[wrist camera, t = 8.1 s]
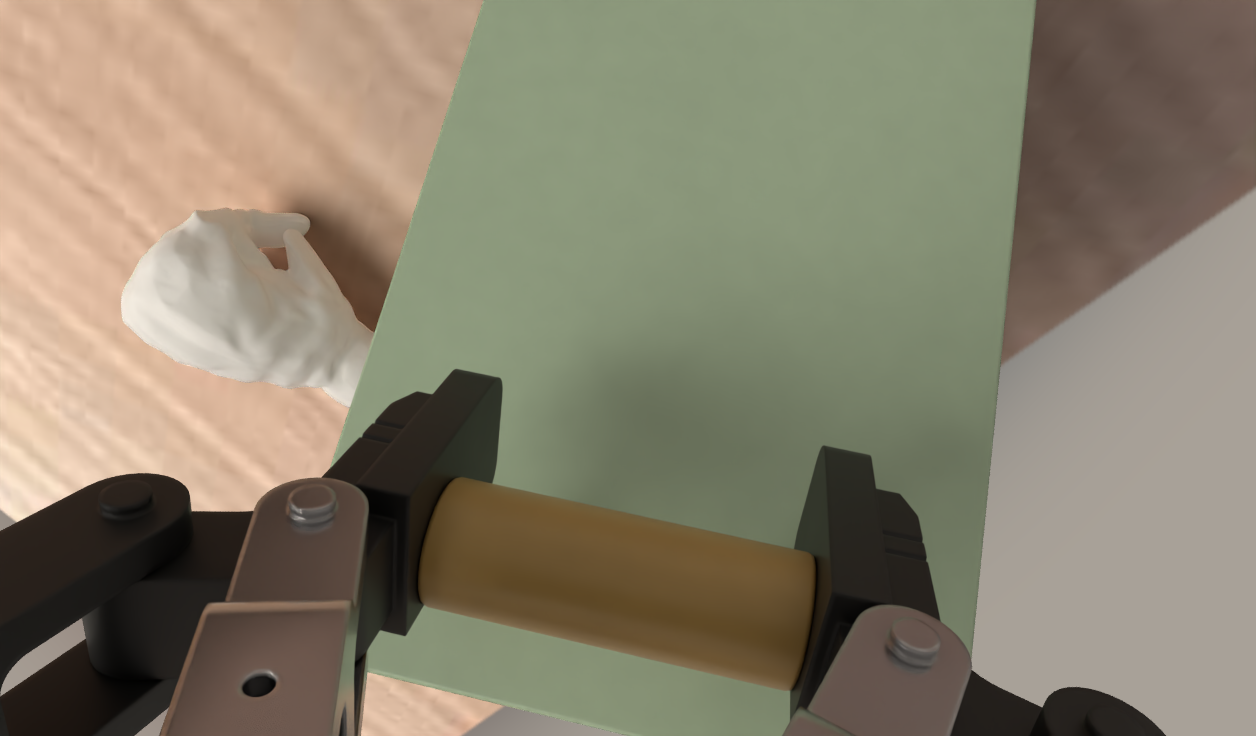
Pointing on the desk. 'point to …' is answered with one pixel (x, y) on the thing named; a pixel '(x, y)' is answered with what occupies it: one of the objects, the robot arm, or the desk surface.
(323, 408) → the desk surface
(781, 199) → the lid
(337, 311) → the white lumpy piece
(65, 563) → the robot arm
